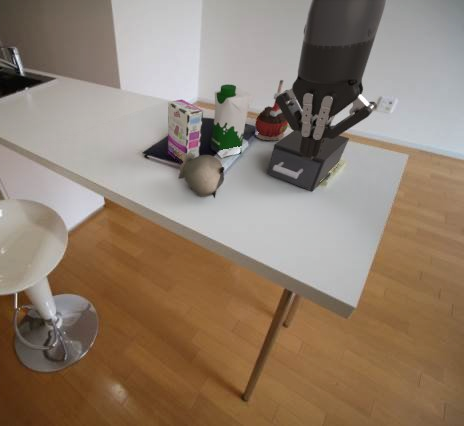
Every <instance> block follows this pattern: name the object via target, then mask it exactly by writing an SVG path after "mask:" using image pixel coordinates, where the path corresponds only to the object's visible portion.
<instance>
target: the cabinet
mask: <svg viewBox="0 0 464 426" xmlns="http://www.w3.org/2000/svg"><path fill="white" fill-rule="evenodd" d="M301 141H302V134H301V132H300V131H298V130H296V131H294V130H292V131H291V132H290V133H288V134H287V135H286V136H285V135H284V136H283V138H281V139H279V140H277V142H275V143H274V144H273V148H272V152H271V156H270V160H269V162H268V167H267V171H266V173H267V172H268V168H269V165H270V161H271V157H272V154H273V150H274V149H275V148H277V149H282V150H285V151H288V152H291V153H294V154H298V155H301V156H302V153H300V145H301ZM349 141H350V137H346V136H344V135H343V136H342V135H338V136H337V137H335V138H334V139H330V138H325V142H324V146H323V149H322V151H321V152H320V154H319V155H318V156H317V157H314V158H313V160H316V161H319V162H320V163H321V164H320V167H319V169H318V172H317V174H316V177H315V179H314V182H313V184H312V187H311V188H310V189H309V190H308V189H306V188H303V187H301V186H298V185H296V184H293V183H290V182H288V181H285V180H283V179H280V178H278V177H275V176H273V175H270V174H268V175H269V176H271V177H274V178H276V179H279V180H282V181H284V182H287V183H289V184H292V185H294V186H297V187H300V188H302V189H305V190H307V191H309V192H314V191H315V190H316V189H317V188H318V187H319V186H320V185H321V184H322V183H323V182H324V181H325V180H326V179H327V178H328V177H329V176H330V175H331V174H328V172H329V171H330V170H331V169H332V168H333V167H334V166H335V165H336V164H337V163H338V162H339V163H340V161H341V157H342V156H343V154H344V152H345V149H346V147H347V145H348V142H349ZM339 163H338V164H339ZM327 174H328V175H327ZM326 175H327V176H326ZM325 176H326V177H325ZM324 177H325V178H324ZM323 178H324V179H323ZM322 179H323V180H322ZM321 180H322V181H321ZM320 181H321V182H320Z"/></svg>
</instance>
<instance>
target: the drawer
mask: <svg viewBox="0 0 464 426" xmlns="http://www.w3.org/2000/svg"><path fill="white" fill-rule="evenodd" d="M272 152H273V154H272V153H271V155H272V157H271V156H270V159H271V161H270V160H269V163H270V165H269V164H268V167H269V168H268V167H267V170H268V172H267V171H266V175H269V174H270V175H269V176H271V175H273V176H272V177H274V176H275V177H274V178H276V177H278V178H277V179H279V178H280V179H279V180H281V179H283V180H282V181H284V180H285V181H284V182H287V181H288V182H287V183H289V182H290V183H289V184H292V183H293V184H292V185H294V184H296V185H295V186H297V185H298V186H297V187H299V186H301V187H300V188H302V187H303V188H302V189H304V188H306V189H305V190H307V189H308V190H307V191H310V190H309V189H310V188H311V187H312V184H313V182H314V179H315V177H316V174H317V172H318V169H319V167H320V164H321V163H320V162H319V161H316V160H311V159H307V158H304V157H302V156H299V155H296V154H294V153H291V152H288V151H285V150H282V149H277V148H275V149H274V150H273V149H272Z"/></svg>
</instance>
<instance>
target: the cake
mask: <svg viewBox="0 0 464 426" xmlns="http://www.w3.org/2000/svg"><path fill="white" fill-rule="evenodd" d="M283 83H284V80H283V79H280V80H279V83H278V87H277V90H276V91H277V92H274V94H273V100H274V103H273V106H268V105H267V106H266V107H264V109H263V110H262V111H261V112H260V113H259V115H257V117H256V120H255V125H254V126H255V129H256V128H257V131H258V132H259V133H258V135H256V136H255V137H256V138H258V139H260V140H262V141H263V140H265V141H276V140H277V141H280V140H281V139H283V138H284V137H285V132H286V130H287V129H288V126H289V124H288V122H287V120H286V118H285V117H284V115H283V113H282V111H281V109H280V108H279V106H278V104H277V102H276V97H277V96H279V95H280V94H281V93H282V88H283Z"/></svg>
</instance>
